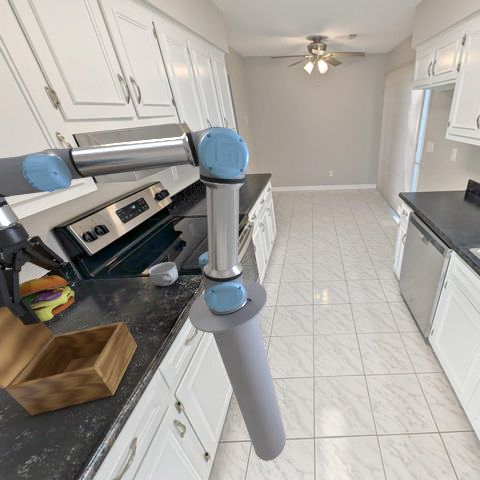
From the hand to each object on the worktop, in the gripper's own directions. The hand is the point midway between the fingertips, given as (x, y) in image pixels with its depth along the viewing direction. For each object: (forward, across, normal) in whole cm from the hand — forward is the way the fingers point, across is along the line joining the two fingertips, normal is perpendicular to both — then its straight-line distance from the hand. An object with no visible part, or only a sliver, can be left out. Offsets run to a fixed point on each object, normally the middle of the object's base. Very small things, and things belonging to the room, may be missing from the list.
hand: (51, 306), depth 64 cm
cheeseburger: (+1, 0, 0) cm, 1 cm away
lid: (+5, +1, -11) cm, 12 cm away
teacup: (+26, -43, +9) cm, 51 cm away
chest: (+26, +1, -1) cm, 26 cm away
